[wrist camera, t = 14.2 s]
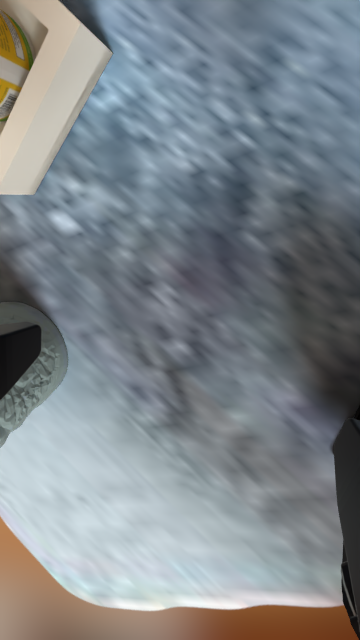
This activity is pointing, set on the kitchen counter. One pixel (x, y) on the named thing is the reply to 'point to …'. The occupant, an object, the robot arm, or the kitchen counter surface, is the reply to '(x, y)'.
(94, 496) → the kitchen counter surface
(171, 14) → the kitchen counter surface
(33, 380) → the grey green cup
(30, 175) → the cream square tray
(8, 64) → the supplement bottle
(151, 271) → the kitchen counter surface
